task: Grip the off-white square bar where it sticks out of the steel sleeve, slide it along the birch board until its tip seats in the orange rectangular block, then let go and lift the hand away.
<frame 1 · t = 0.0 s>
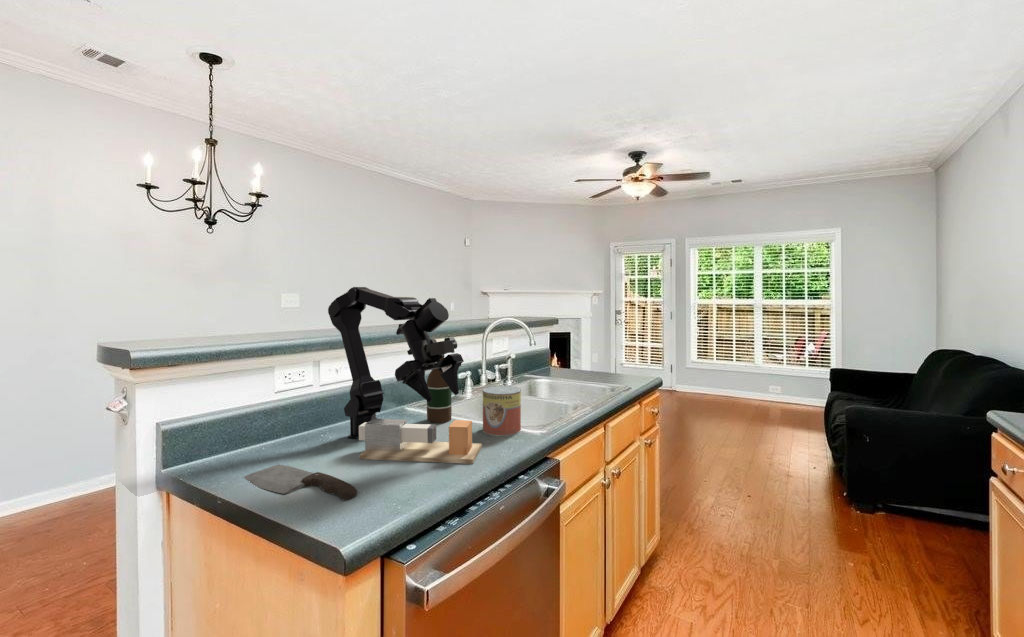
hand: (444, 397, 116), 15 cm above the counter, tool tilted 35°, fingers open, 9 cm apart
cleaver: (300, 488, 101), on the counter
board: (422, 452, 121), on the counter
sleeve: (386, 451, 122), resting on board
beer bottle: (439, 420, 152), on the counter
orange rectangular block: (459, 454, 120), resting on board
off-white square bar: (397, 432, 121), point 5 cm above the counter, slide at 0.0 cm
canned food: (501, 430, 141), on the counter
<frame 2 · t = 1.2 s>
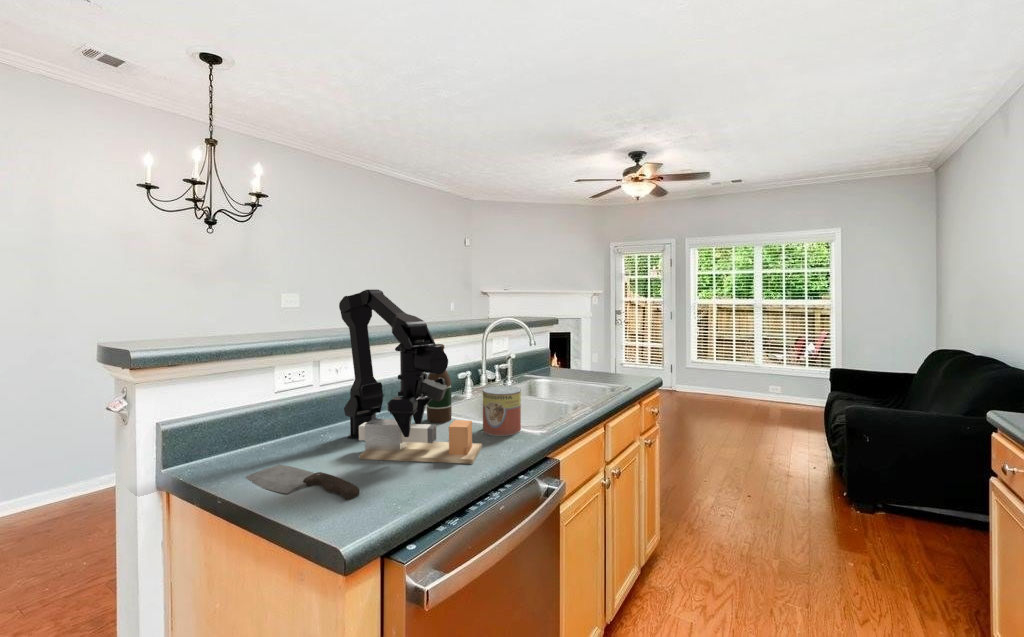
hand: (412, 431, 121), 5 cm above the counter, tool pointing down, fingers open, 9 cm apart
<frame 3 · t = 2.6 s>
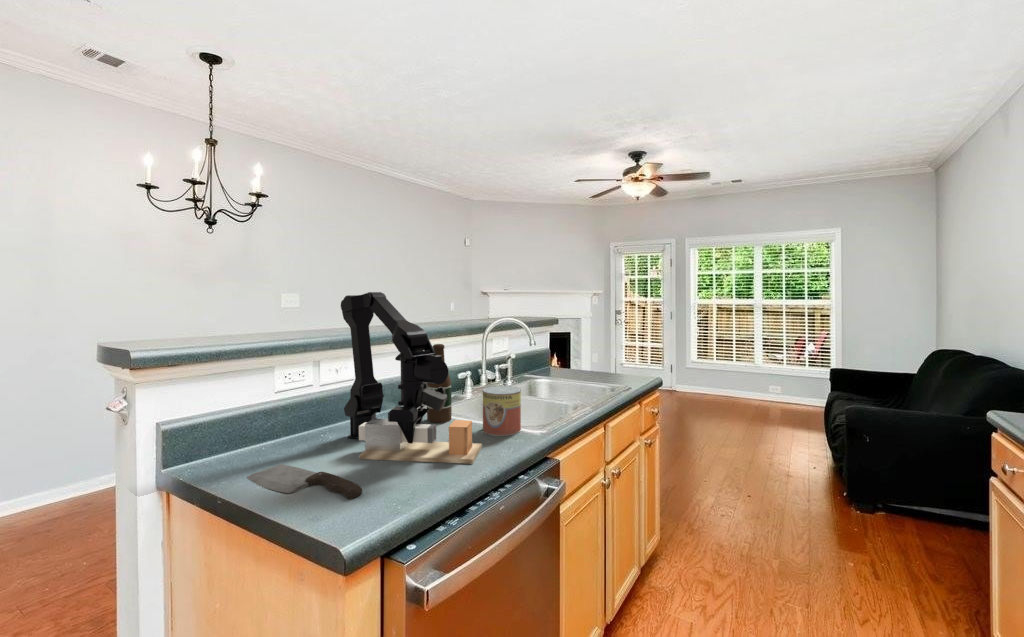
hand: (413, 440, 121), 3 cm above the counter, tool pointing down, fingers closed on off-white square bar, 4 cm apart
off-white square bar: (397, 432, 121), point 5 cm above the counter, slide at 0.0 cm, touching gripper
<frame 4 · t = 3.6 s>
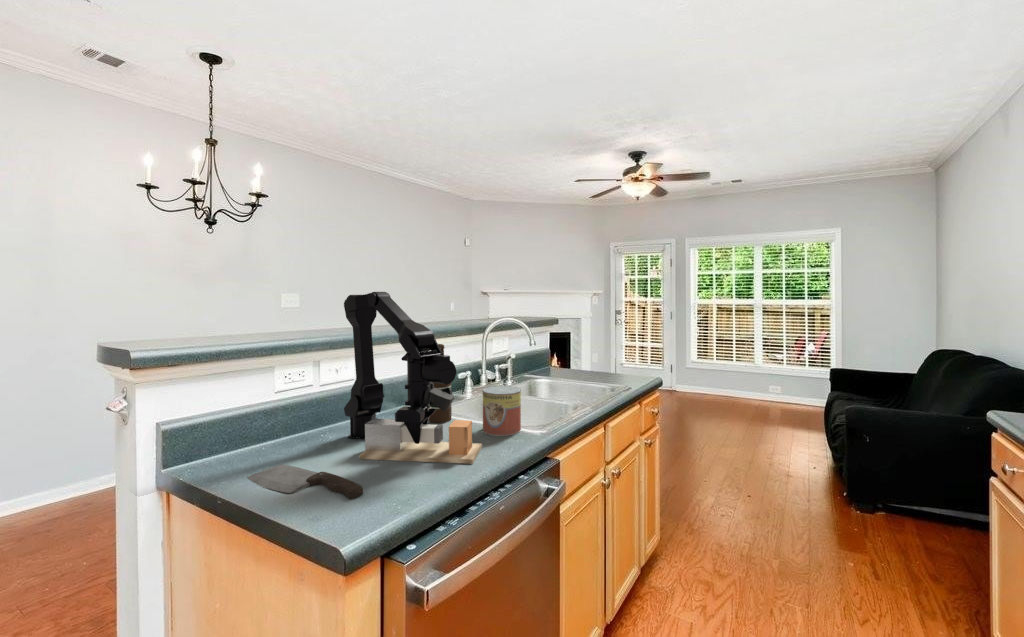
hand: (419, 440, 121), 3 cm above the counter, tool pointing down, fingers closed on off-white square bar, 4 cm apart
off-white square bar: (404, 432, 121), point 5 cm above the counter, slide at 1.7 cm, touching gripper
everything else where it was.
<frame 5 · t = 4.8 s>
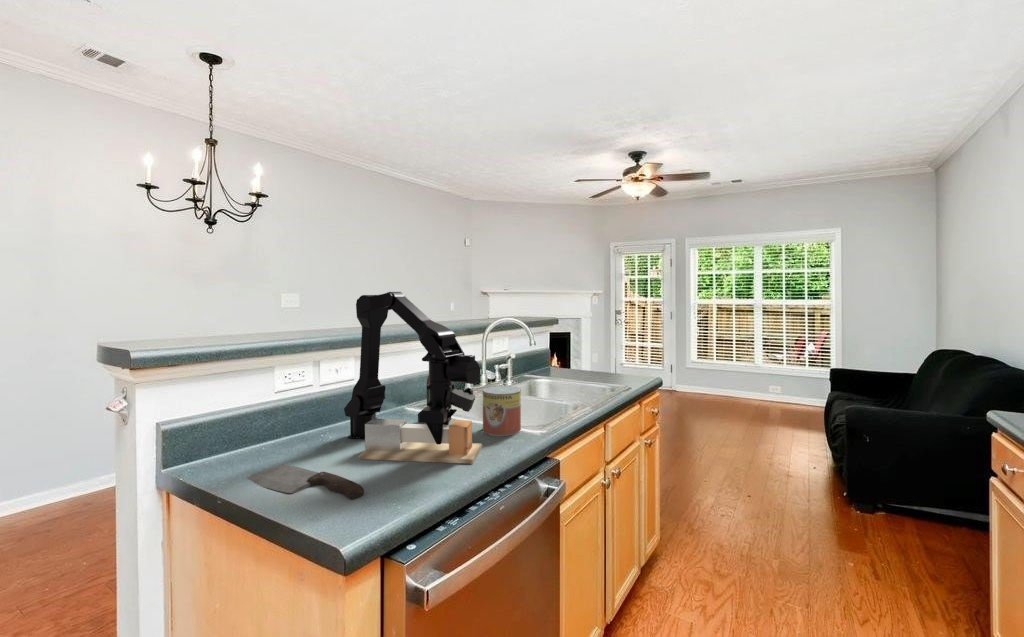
hand: (441, 441, 120), 3 cm above the counter, tool pointing down, fingers closed on off-white square bar, 4 cm apart
off-white square bar: (425, 433, 121), point 5 cm above the counter, slide at 7.2 cm, touching gripper
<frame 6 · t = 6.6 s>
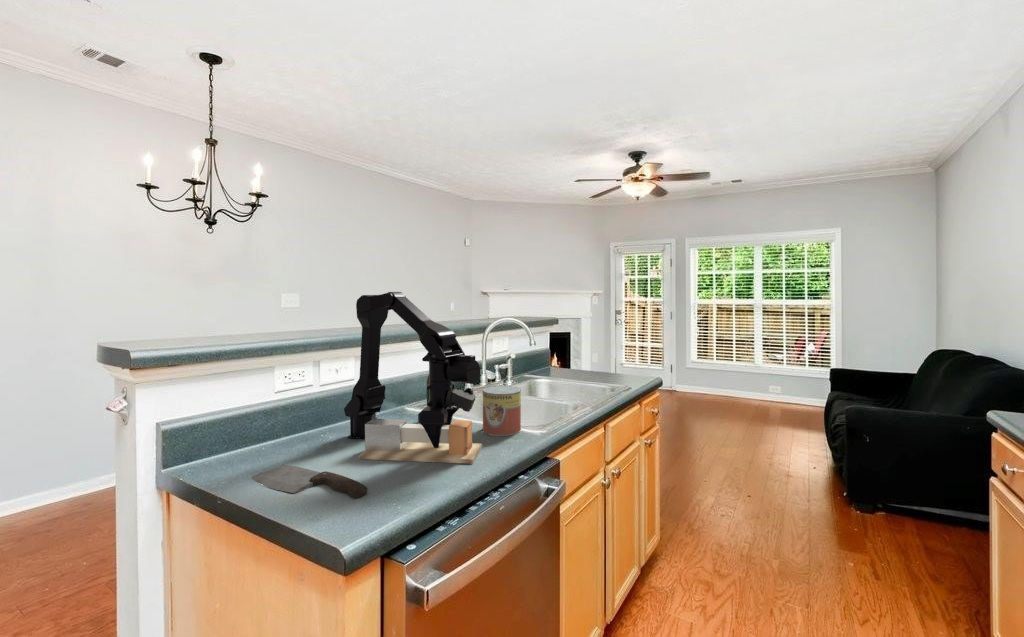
hand: (441, 441, 120), 3 cm above the counter, tool pointing down, fingers open, 9 cm apart
off-white square bar: (425, 433, 121), point 5 cm above the counter, slide at 7.3 cm
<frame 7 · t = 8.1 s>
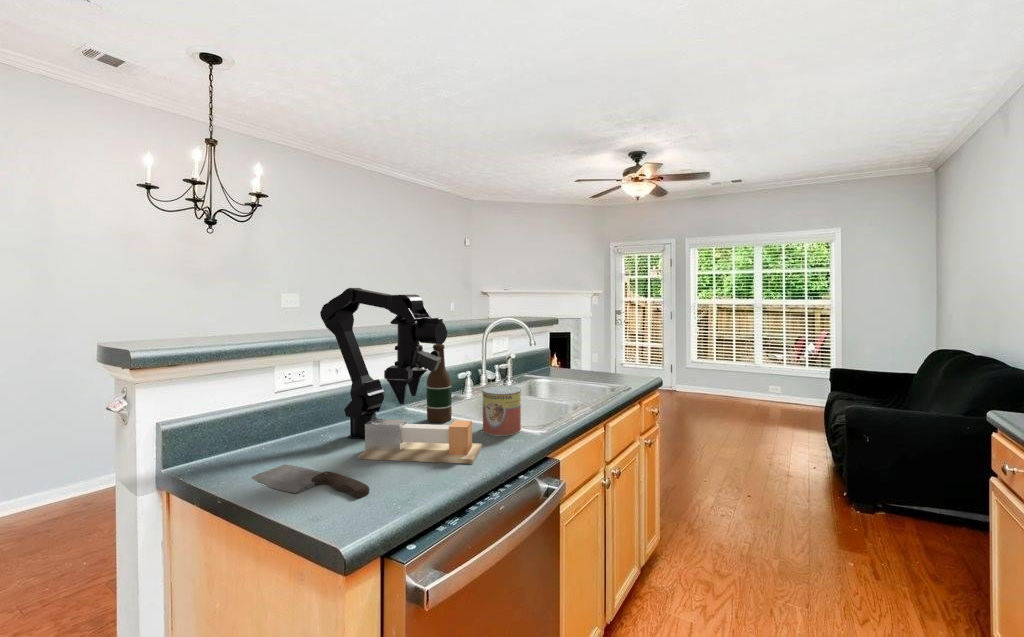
hand: (407, 399, 128), 12 cm above the counter, tool pointing down, fingers open, 9 cm apart
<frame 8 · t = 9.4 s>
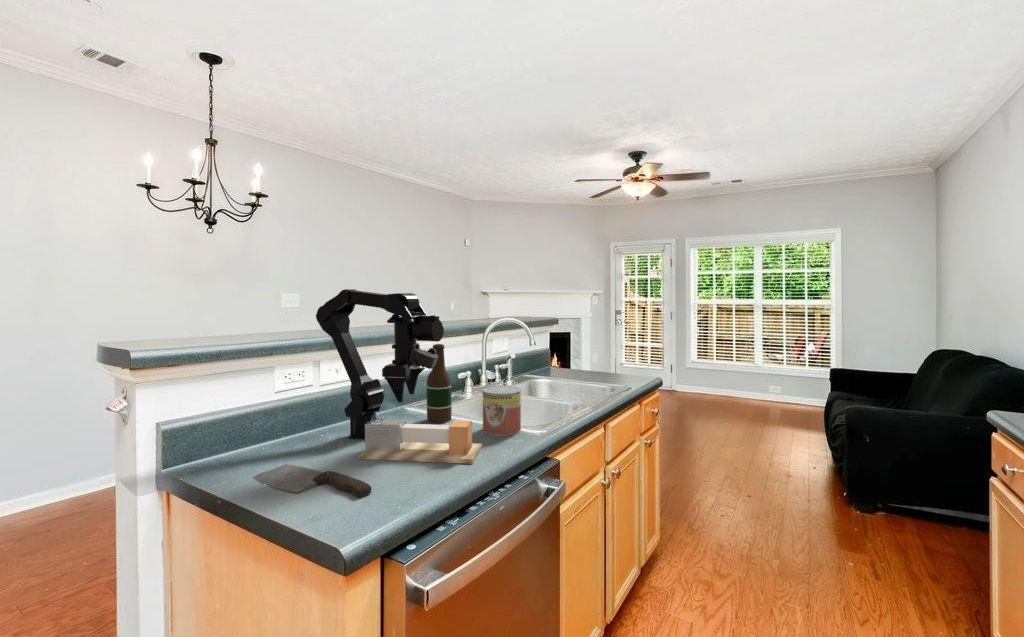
hand: (406, 398, 129), 12 cm above the counter, tool pointing down, fingers open, 9 cm apart
at the end: off-white square bar slide at 7.3 cm; the gripper is holding nothing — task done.
